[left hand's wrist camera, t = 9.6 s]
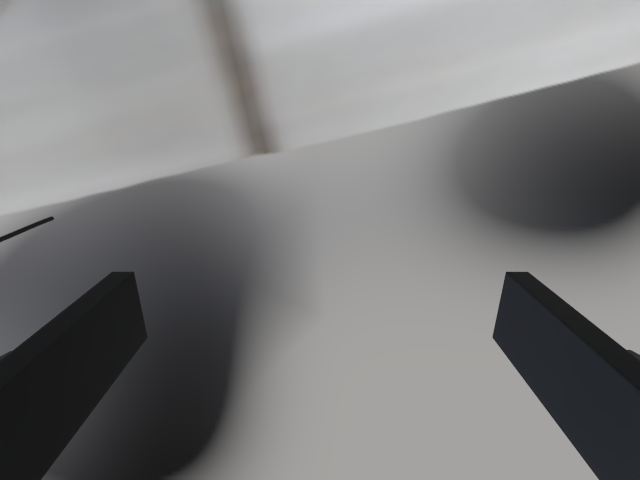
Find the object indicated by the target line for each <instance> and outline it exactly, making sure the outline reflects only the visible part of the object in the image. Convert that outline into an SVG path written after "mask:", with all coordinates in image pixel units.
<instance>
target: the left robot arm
mask: <svg viewBox="0 0 640 480" xmlns="http://www.w3.org/2000/svg"><path fill="white" fill-rule="evenodd" d="M52 220H54V217H52V216H51V217H48V218H45V219H43V220H40V221H38V222H35V223H33V224H30V225H28V226H26V227H23V228H21V229H18V230H16V231H14V232H11V233H9V234H6V235H4V236H1V237H0V242H2V241H5V240H7V239H10V238H12V237H14V236H16V235H19V234H21V233H23V232H26V231H28V230H30V229H33V228H35V227H37V226H40V225H42V224H45V223H47V222H50V221H52ZM146 339H147V333H146V328H145V323H144V318H143V314H142V309H141V304H140V299H139V294H138V290H137V285H136V280H135V275H134V272H111V273H110V274H109V275H108V276H106V277H105V278H104V279H103V280H101V281H100V282H99V283H98V284H96V285H95V286H94V287H93V288H91V289H90V290H89V291H87V292H86V293H85V294H84V295H82V296H81V297H80V298H79V299H77V300H76V301H75V302H74V303H72V304H71V305H70V306H69V307H67V308H66V309H65V310H64V311H62V312H61V313H60V314H59V315H57V316H56V317H55V318H54V319H52V320H51V321H50V322H49V323H47V324H46V325H45V326H43V327H42V328H41V329H40V330H38V331H37V332H36V333H35V334H33V335H32V336H31V337H30V338H28V339H27V340H26V341H25V342H23V343H22V344H21V345H20V346H18V347H17V348H16V349H14V350H13V351H10V352H8V353H6V354H4V355H2V356H0V480H41V479H42V478H43V476H44V475H45V474H46V472H47V471H48V470H49V468H50V467H51V465H52V464H53V463H54V461H55V460H56V459H57V457H58V456H59V455H60V454H61V452H62V451H63V450H64V448H65V447H66V445H67V444H68V443H69V441H70V440H71V439H72V437H73V436H74V435H75V433H76V432H77V431H78V429H79V428H80V427H81V425H82V424H83V423H84V421H85V420H86V419H87V417H88V416H89V415H90V413H91V412H92V411H93V409H94V408H95V407H96V405H97V404H98V403H99V401H100V400H101V399H102V397H103V396H104V395H105V393H106V392H107V391H108V389H109V388H110V387H111V385H112V384H113V383H114V381H115V380H116V379H117V377H118V376H119V375H120V373H121V372H122V371H123V369H124V368H125V367H126V365H127V364H128V363H129V361H130V360H131V359H132V357H133V356H134V355H135V353H136V352H137V351H138V349H139V348H140V347H141V345H142V344H143V343H144V341H145V340H146ZM493 339H494V340H495V341H496V343H497V344H498V345H499V347H500V348H501V349H502V351H503V352H504V353H505V355H506V356H507V357H508V359H509V360H510V361H511V363H512V364H513V365H514V367H515V368H516V369H517V371H518V372H519V373H520V375H521V376H522V377H523V379H524V380H525V381H526V383H527V384H528V385H529V387H530V388H531V389H532V391H533V392H534V393H535V395H536V396H537V397H538V399H539V400H540V401H541V403H542V404H543V405H544V407H545V408H546V409H547V411H548V412H549V413H550V415H551V416H552V417H553V419H554V420H555V421H556V423H557V424H558V425H559V427H560V428H561V429H562V431H563V432H564V433H565V435H566V436H567V437H568V439H569V440H570V441H571V443H572V444H573V445H574V447H575V448H576V450H577V451H578V452H579V453H580V455H581V456H582V458H583V459H584V460H585V461H586V463H587V464H588V466H589V467H590V468H591V469H592V471H593V472H594V474H595V475H596V476H597V478H598V479H599V480H640V355H639V354H637V353H635V352H633V351H631V350H626V349H624V348H623V347H622V346H621V345H619V344H618V343H617V342H615V341H614V340H613V339H612V338H610V337H609V336H608V335H607V334H605V333H604V332H603V331H601V330H600V329H599V328H598V327H597V326H595V325H594V324H593V323H592V322H590V321H589V320H588V319H587V318H585V317H584V316H583V315H581V314H580V313H579V312H578V311H576V310H575V309H574V308H573V307H571V306H570V305H569V304H568V303H566V302H565V301H564V300H563V299H561V298H560V297H559V296H558V295H556V294H555V293H554V292H552V291H551V290H550V289H549V288H547V287H546V286H545V285H544V284H542V283H541V282H540V281H539V280H537V279H536V278H535V277H534V276H532V275H531V274H530V273H529V272H506V275H505V280H504V285H503V289H502V294H501V299H500V304H499V309H498V314H497V318H496V323H495V328H494V333H493Z"/></svg>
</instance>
